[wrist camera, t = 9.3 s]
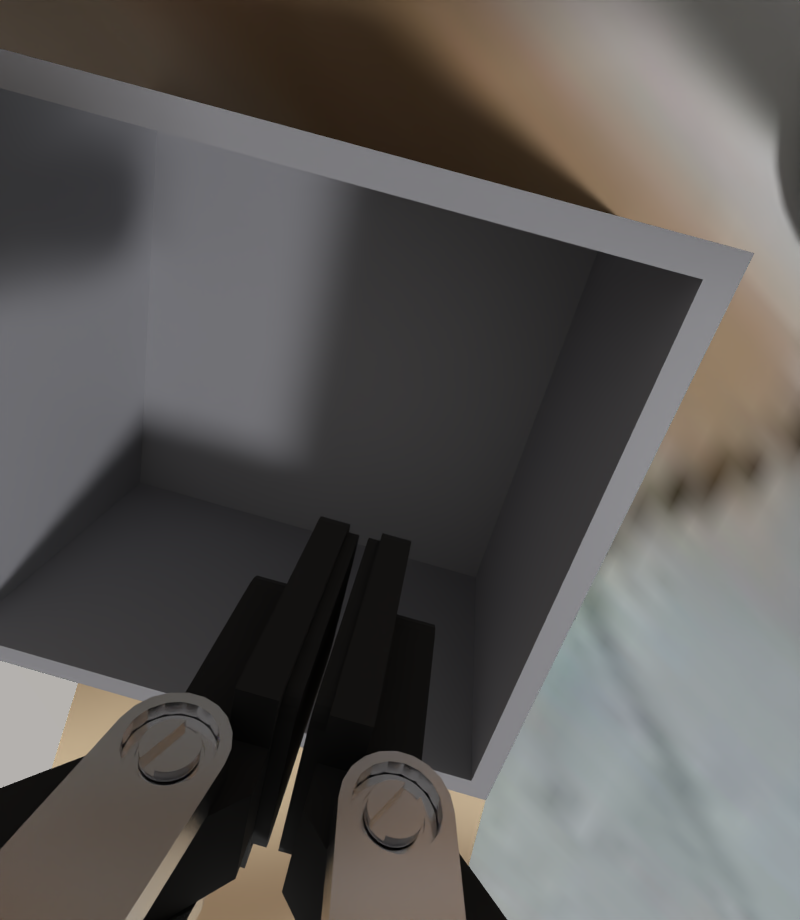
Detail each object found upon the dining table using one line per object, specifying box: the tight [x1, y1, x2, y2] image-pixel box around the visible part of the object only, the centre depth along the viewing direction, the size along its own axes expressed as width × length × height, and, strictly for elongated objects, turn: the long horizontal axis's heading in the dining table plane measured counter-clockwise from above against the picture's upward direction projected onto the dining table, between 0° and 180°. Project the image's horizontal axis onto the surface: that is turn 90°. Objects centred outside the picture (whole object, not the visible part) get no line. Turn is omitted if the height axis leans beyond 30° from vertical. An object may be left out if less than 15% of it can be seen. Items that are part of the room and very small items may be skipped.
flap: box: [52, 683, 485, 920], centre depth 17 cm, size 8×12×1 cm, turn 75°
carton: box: [0, 49, 754, 800], centre depth 18 cm, size 15×16×10 cm
